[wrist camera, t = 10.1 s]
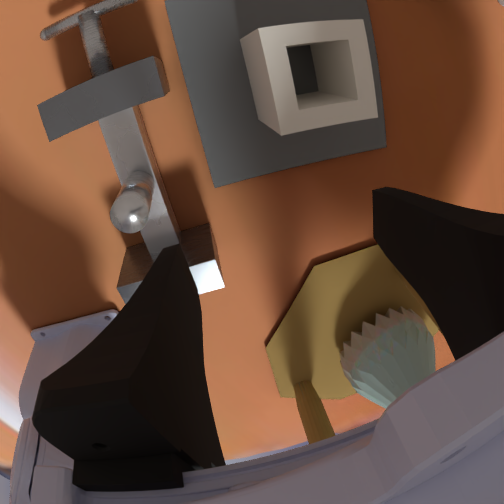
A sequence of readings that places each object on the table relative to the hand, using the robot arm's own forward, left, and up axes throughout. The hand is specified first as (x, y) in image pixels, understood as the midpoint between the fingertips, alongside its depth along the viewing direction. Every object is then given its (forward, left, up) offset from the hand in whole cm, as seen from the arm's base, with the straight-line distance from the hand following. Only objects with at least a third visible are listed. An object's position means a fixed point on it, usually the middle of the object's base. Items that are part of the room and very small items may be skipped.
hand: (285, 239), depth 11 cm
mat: (+4, +5, -10) cm, 12 cm away
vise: (-6, +3, -10) cm, 12 cm away
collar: (+4, +5, -9) cm, 11 cm away
